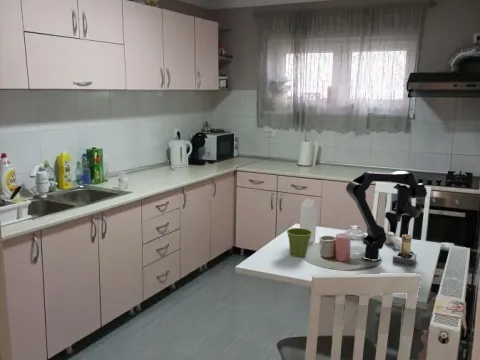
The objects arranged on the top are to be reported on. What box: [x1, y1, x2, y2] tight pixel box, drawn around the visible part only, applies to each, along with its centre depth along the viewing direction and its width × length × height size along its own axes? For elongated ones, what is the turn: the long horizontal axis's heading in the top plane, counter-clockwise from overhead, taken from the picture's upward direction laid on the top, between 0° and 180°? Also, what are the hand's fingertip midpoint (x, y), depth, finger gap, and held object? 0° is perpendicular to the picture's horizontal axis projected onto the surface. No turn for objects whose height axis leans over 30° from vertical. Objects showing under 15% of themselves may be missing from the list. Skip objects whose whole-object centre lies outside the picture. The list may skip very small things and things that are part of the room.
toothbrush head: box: [384, 231, 415, 254], centre depth 233 cm, size 5×7×25 cm
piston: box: [400, 233, 413, 258], centre depth 216 cm, size 4×4×12 cm
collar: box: [392, 250, 418, 267], centre depth 216 cm, size 9×9×3 cm
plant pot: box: [286, 227, 312, 258], centre depth 219 cm, size 12×12×11 cm
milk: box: [299, 197, 318, 245], centre depth 239 cm, size 6×6×22 cm
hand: (399, 231), depth 219 cm, fingers open, 9 cm apart
